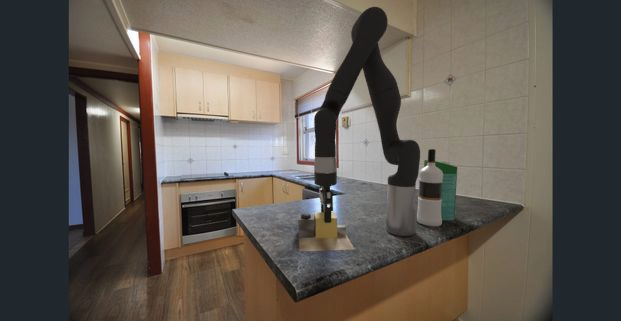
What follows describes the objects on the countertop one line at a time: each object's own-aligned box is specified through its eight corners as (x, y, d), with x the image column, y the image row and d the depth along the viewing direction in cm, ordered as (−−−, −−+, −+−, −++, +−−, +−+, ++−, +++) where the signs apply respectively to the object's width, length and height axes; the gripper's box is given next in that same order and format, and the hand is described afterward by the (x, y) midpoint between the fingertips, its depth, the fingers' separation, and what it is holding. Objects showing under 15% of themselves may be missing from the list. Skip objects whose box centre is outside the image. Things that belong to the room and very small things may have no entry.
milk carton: (454, 220, 87) (457, 161, 85) (432, 220, 87) (435, 161, 85) (441, 213, 96) (444, 159, 94) (421, 213, 96) (424, 159, 94)
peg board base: (341, 230, 76) (342, 209, 75) (354, 253, 60) (355, 226, 59) (298, 232, 74) (298, 210, 74) (299, 255, 58) (299, 228, 58)
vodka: (410, 221, 86) (413, 148, 84) (424, 217, 90) (428, 148, 88) (432, 229, 78) (436, 149, 76) (447, 225, 82) (451, 149, 80)
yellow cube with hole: (333, 229, 74) (333, 210, 73) (337, 237, 67) (337, 216, 67) (313, 230, 73) (313, 210, 72) (315, 238, 67) (315, 216, 66)
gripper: (312, 168, 76) (313, 211, 77) (316, 173, 62) (317, 226, 63) (332, 167, 76) (333, 210, 78) (341, 173, 62) (341, 225, 64)
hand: (325, 217), depth 70 cm, fingers open, 8 cm apart
